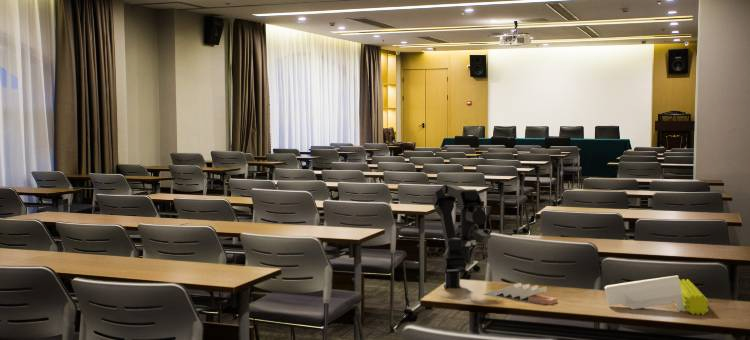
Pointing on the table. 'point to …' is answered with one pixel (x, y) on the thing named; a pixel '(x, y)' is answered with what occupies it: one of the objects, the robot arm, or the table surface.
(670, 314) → the table surface
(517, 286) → the tile
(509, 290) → the tile
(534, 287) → the tile
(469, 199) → the robot arm
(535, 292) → the tile
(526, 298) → the grey serrated plate
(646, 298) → the shelf bracket
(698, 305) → the decorative object
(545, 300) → the tile end
